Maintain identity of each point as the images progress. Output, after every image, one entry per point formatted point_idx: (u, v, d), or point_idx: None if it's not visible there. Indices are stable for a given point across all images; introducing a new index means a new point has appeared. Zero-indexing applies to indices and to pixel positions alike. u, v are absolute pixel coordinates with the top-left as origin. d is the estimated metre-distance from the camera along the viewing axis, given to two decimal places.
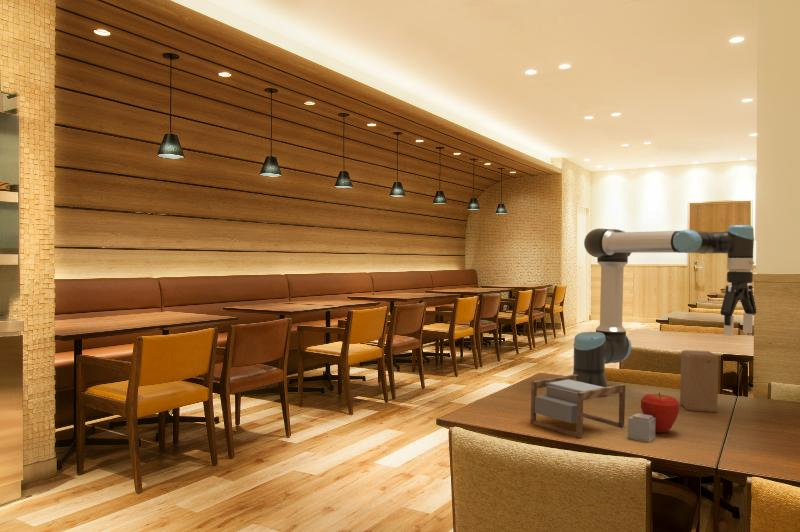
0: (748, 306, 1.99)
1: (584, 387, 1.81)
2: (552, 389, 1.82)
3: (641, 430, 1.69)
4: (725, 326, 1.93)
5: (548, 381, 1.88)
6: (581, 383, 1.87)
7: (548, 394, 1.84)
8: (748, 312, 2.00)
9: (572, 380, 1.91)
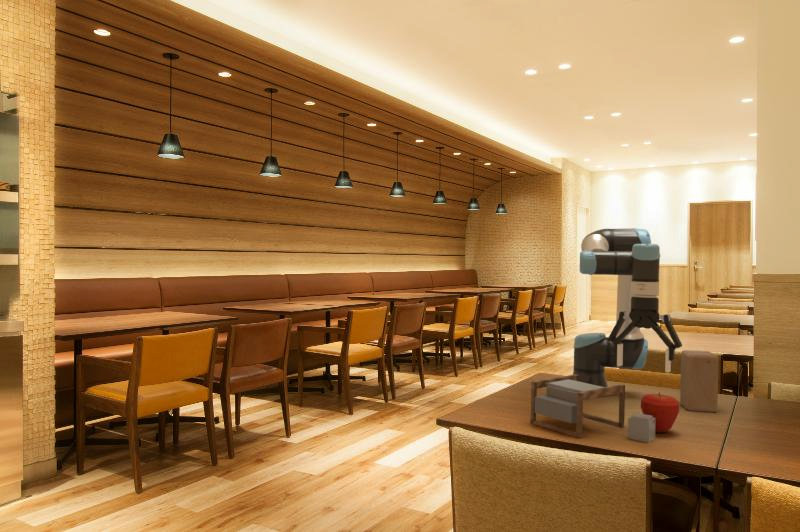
0: None
1: (584, 387, 1.81)
2: (552, 389, 1.82)
3: (641, 430, 1.69)
4: None
5: (548, 381, 1.88)
6: (581, 383, 1.87)
7: (548, 394, 1.84)
8: None
9: (572, 380, 1.91)
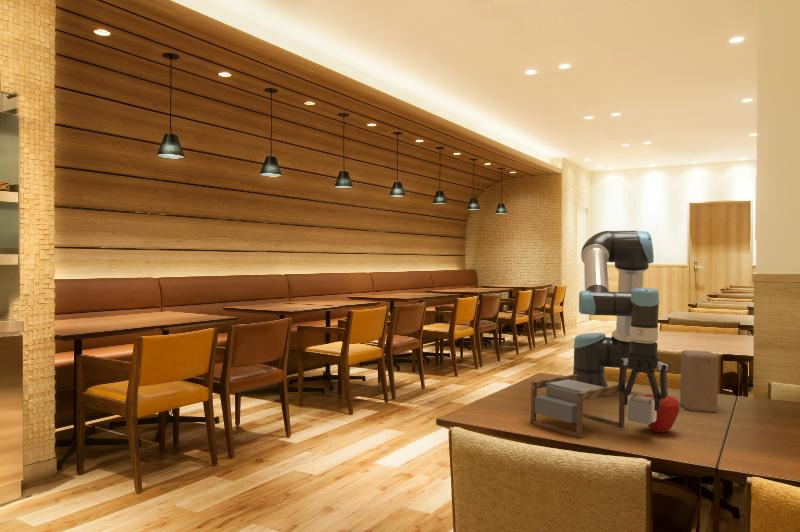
0: None
1: (584, 387, 1.81)
2: (552, 389, 1.82)
3: (641, 412, 1.69)
4: None
5: (548, 381, 1.88)
6: (581, 383, 1.87)
7: (548, 394, 1.84)
8: None
9: (572, 380, 1.91)
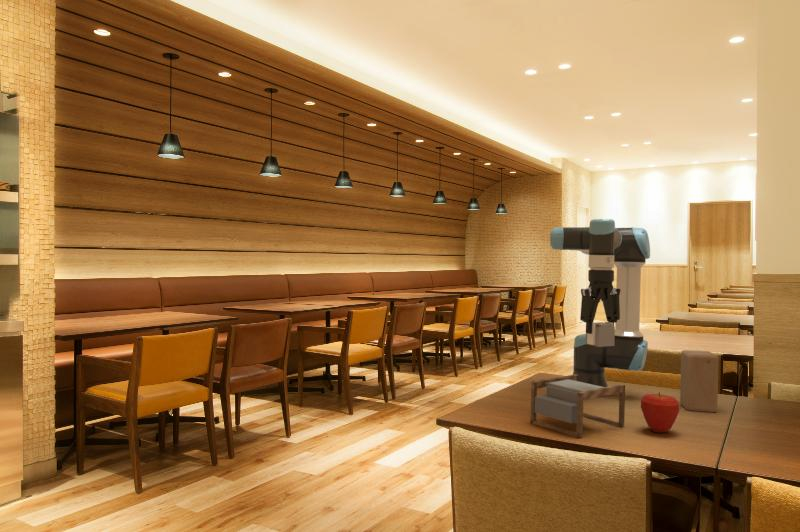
0: (609, 311, 1.81)
1: (584, 387, 1.81)
2: (552, 389, 1.82)
3: (609, 335, 1.78)
4: (588, 334, 1.80)
5: (548, 381, 1.88)
6: (581, 383, 1.87)
7: (548, 394, 1.84)
8: (609, 320, 1.82)
9: (572, 380, 1.91)
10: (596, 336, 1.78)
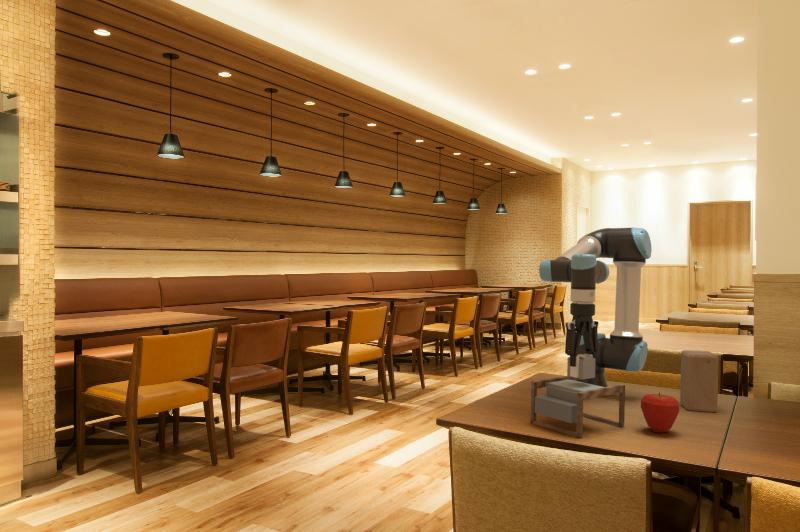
0: (589, 343, 1.85)
1: (584, 387, 1.81)
2: (552, 389, 1.82)
3: (590, 368, 1.83)
4: (571, 367, 1.83)
5: (548, 381, 1.88)
6: (581, 383, 1.87)
7: (548, 394, 1.84)
8: (588, 352, 1.87)
9: (572, 380, 1.91)
10: (580, 369, 1.81)
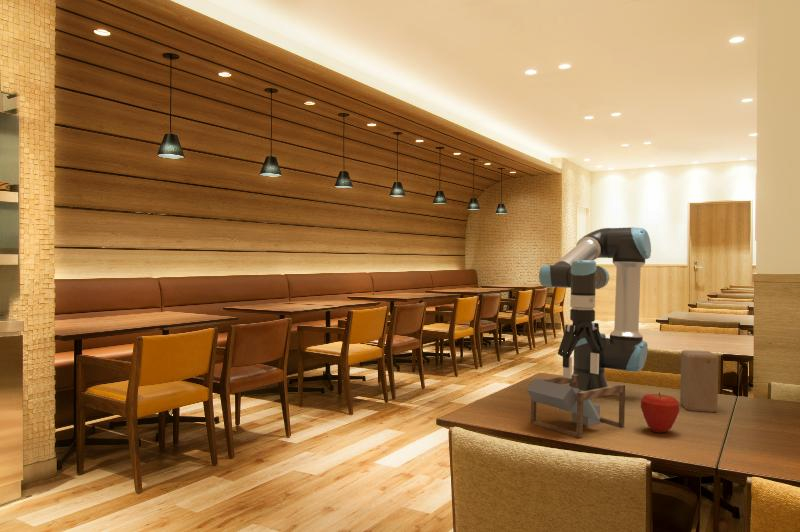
0: (594, 345, 1.87)
1: None
2: None
3: None
4: (564, 368, 1.81)
5: (548, 381, 1.88)
6: None
7: None
8: (595, 351, 1.89)
9: None
10: None
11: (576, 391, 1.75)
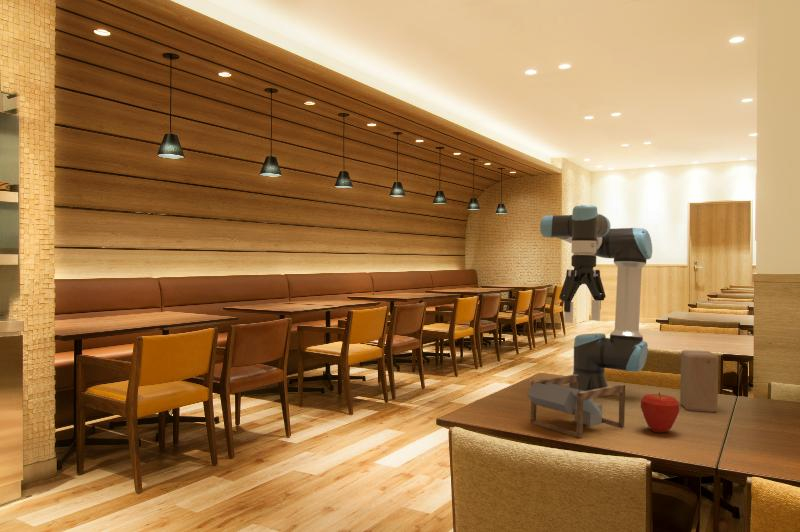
0: (595, 292, 1.87)
1: None
2: (552, 385, 1.82)
3: (596, 417, 1.85)
4: (565, 313, 1.81)
5: (548, 381, 1.88)
6: None
7: None
8: (596, 298, 1.89)
9: None
10: None
11: (576, 392, 1.75)
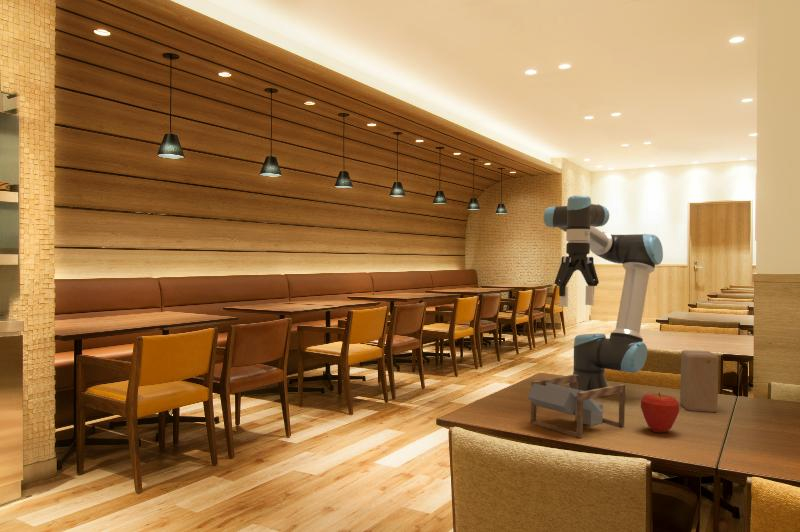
0: (588, 278, 1.97)
1: None
2: (552, 385, 1.82)
3: (597, 417, 1.85)
4: (560, 297, 1.92)
5: (548, 381, 1.88)
6: None
7: None
8: (590, 284, 1.99)
9: None
10: None
11: (576, 392, 1.75)
